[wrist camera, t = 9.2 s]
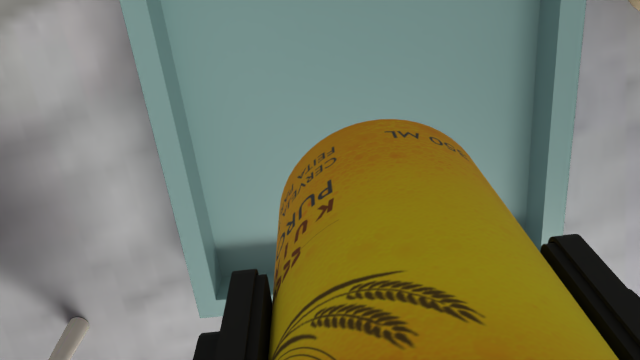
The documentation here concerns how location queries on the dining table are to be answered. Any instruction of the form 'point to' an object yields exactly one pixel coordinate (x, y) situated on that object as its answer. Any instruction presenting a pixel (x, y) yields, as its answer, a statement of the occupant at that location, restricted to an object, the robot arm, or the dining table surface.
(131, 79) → the dining table surface
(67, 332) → the toy
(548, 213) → the tray
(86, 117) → the dining table surface
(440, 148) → the beer can
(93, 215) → the dining table surface
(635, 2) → the cork ball
